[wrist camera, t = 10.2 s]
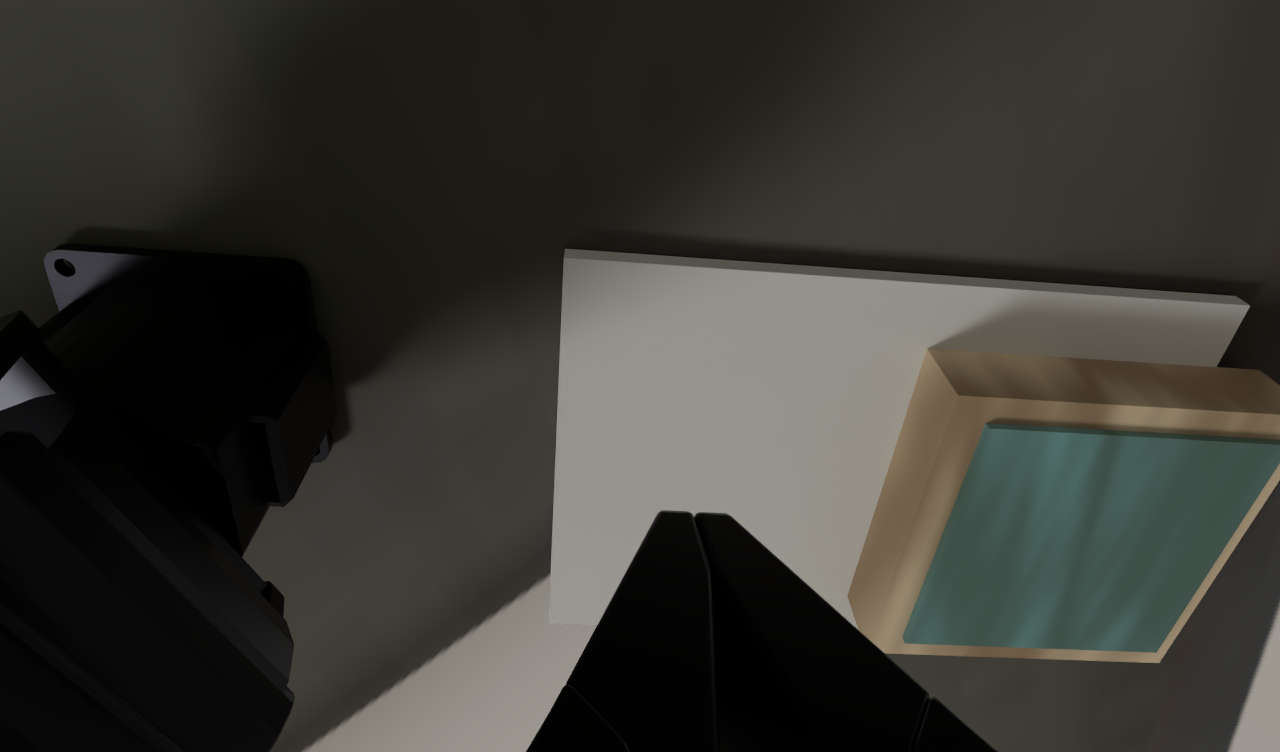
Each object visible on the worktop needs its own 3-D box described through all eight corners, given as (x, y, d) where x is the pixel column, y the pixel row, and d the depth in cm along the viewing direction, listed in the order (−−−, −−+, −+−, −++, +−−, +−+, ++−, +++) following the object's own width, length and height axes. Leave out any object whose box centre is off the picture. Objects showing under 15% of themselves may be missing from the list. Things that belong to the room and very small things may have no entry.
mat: (549, 610, 29) (548, 623, 28) (564, 248, 21) (563, 257, 21) (1056, 629, 30) (1063, 642, 30) (1236, 296, 23) (1250, 305, 22)
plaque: (867, 659, 26) (1163, 669, 26) (961, 401, 20) (1328, 422, 21) (847, 595, 28) (1120, 606, 29) (927, 348, 23) (1259, 369, 23)
